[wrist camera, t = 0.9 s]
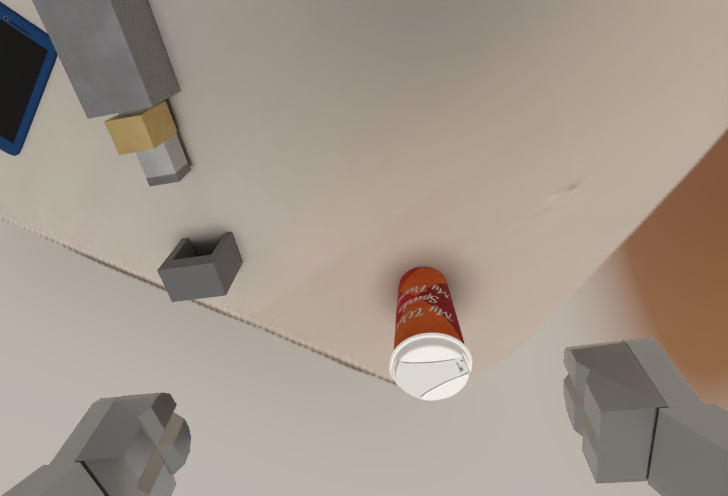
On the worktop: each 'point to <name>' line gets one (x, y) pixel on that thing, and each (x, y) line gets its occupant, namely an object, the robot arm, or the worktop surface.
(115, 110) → the sleeve
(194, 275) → the socket
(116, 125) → the gold-banded square post
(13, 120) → the cell phone
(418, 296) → the paper cup
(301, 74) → the worktop surface
